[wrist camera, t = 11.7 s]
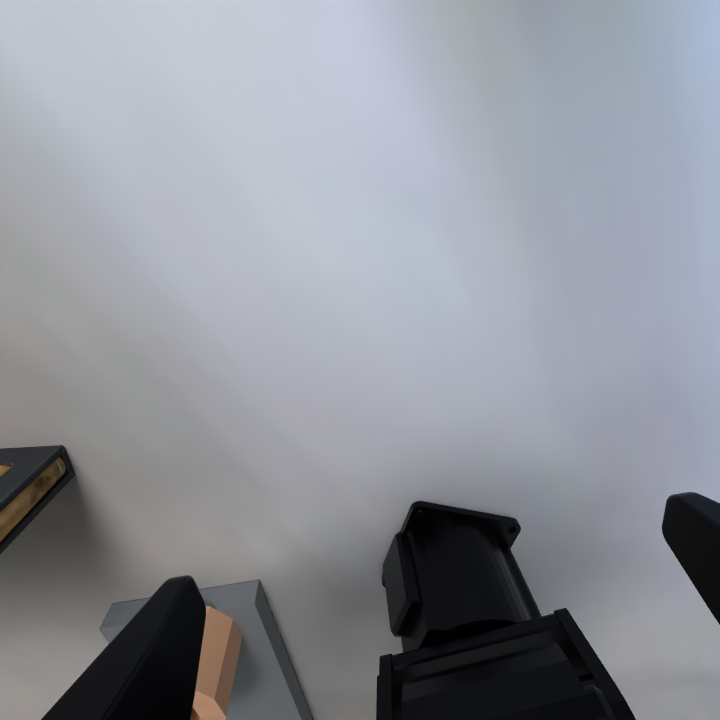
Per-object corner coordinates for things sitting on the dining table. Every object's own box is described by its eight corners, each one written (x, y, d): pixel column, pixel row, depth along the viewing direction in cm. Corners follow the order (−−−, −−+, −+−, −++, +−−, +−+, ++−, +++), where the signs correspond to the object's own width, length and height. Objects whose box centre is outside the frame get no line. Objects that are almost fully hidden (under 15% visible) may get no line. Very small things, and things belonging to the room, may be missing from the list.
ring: (249, 611, 24) (233, 691, 20) (231, 674, 26) (214, 756, 22) (139, 596, 23) (102, 676, 19) (131, 663, 25) (95, 746, 21)
